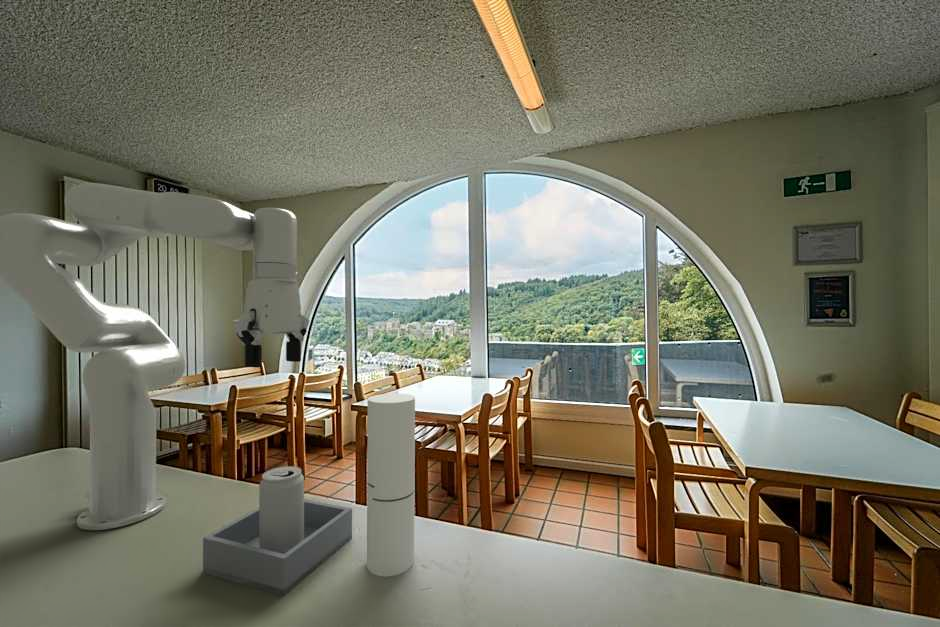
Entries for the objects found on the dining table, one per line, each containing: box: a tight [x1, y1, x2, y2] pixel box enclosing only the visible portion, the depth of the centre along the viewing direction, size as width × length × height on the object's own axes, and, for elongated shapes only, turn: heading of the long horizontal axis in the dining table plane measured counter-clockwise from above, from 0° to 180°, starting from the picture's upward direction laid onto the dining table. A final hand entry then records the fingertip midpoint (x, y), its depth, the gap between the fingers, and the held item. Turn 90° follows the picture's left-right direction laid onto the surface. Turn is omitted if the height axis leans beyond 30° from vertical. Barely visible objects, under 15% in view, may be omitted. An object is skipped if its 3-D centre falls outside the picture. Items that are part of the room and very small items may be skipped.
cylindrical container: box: [366, 393, 416, 578], centre depth 62 cm, size 7×7×25 cm
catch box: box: [202, 498, 353, 597], centre depth 63 cm, size 15×15×5 cm
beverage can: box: [258, 465, 305, 554], centre depth 64 cm, size 6×6×12 cm
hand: (274, 363), depth 77 cm, fingers open, 9 cm apart
